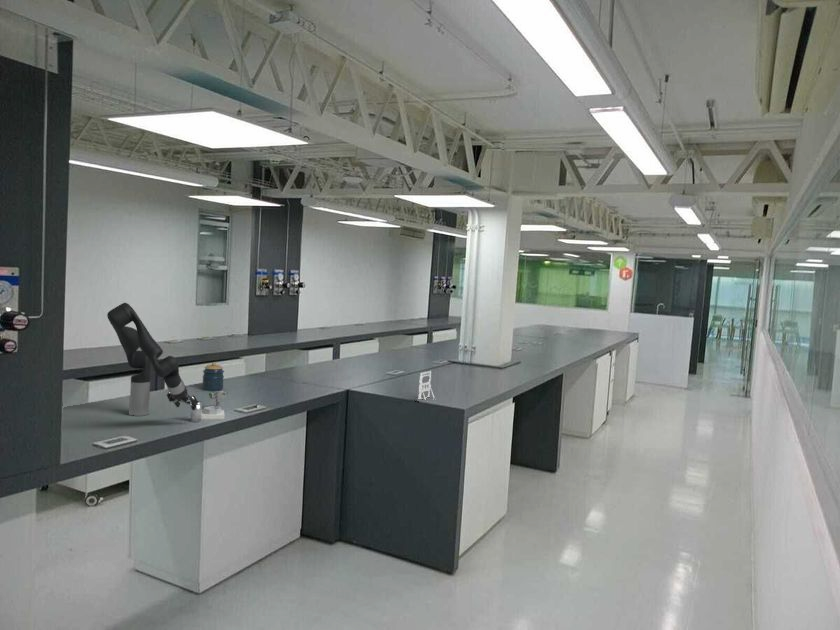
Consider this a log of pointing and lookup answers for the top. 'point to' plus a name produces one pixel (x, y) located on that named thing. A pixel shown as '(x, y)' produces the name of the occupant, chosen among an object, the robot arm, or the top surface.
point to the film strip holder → (424, 385)
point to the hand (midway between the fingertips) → (186, 407)
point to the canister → (213, 377)
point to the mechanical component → (218, 396)
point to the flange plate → (212, 413)
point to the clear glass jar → (196, 412)
